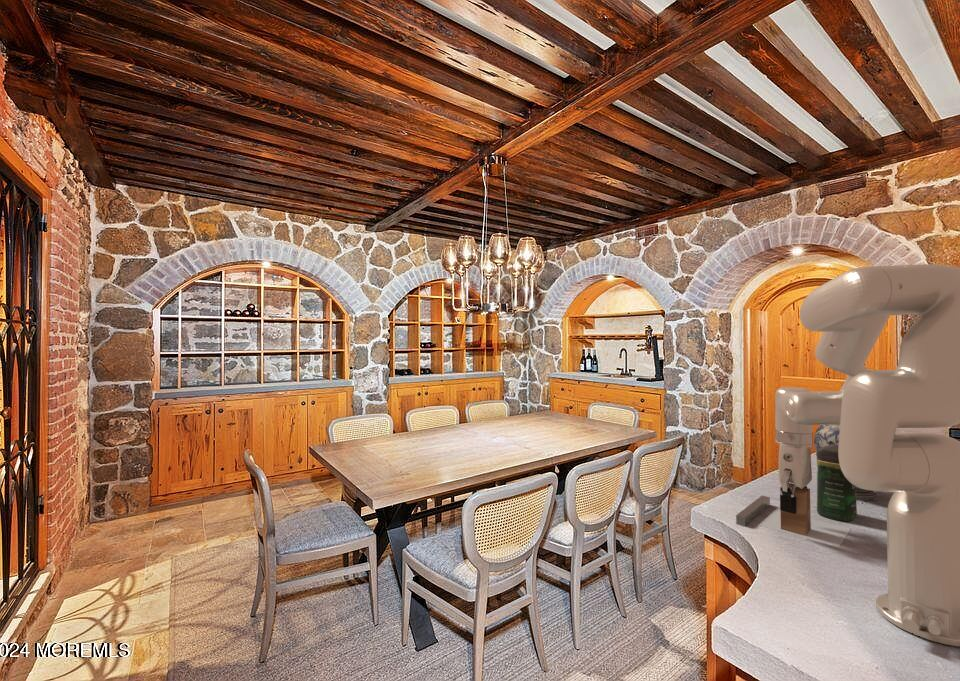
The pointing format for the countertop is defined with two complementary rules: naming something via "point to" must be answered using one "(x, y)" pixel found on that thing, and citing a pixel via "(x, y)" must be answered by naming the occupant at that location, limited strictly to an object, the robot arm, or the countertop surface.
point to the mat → (818, 531)
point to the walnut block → (798, 514)
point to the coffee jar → (834, 487)
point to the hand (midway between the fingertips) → (793, 506)
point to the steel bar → (752, 511)
